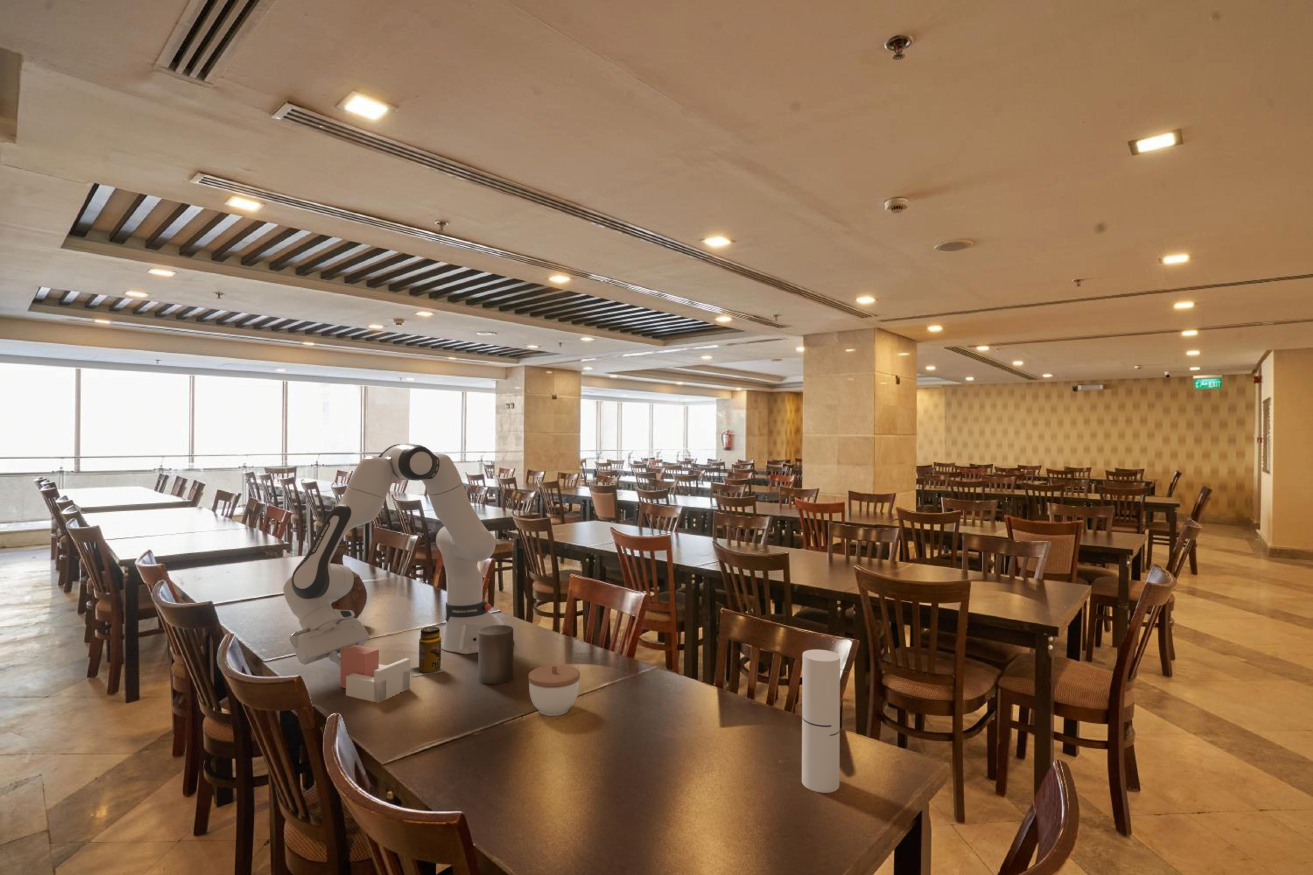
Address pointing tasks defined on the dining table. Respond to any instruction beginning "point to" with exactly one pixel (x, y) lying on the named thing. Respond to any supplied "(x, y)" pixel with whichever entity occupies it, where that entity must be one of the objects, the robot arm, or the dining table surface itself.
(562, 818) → the dining table surface
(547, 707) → the white lidded jar
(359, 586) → the jug
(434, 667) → the condiment
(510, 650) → the pillar candle
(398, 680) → the dock
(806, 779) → the cylindrical container
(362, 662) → the plug
